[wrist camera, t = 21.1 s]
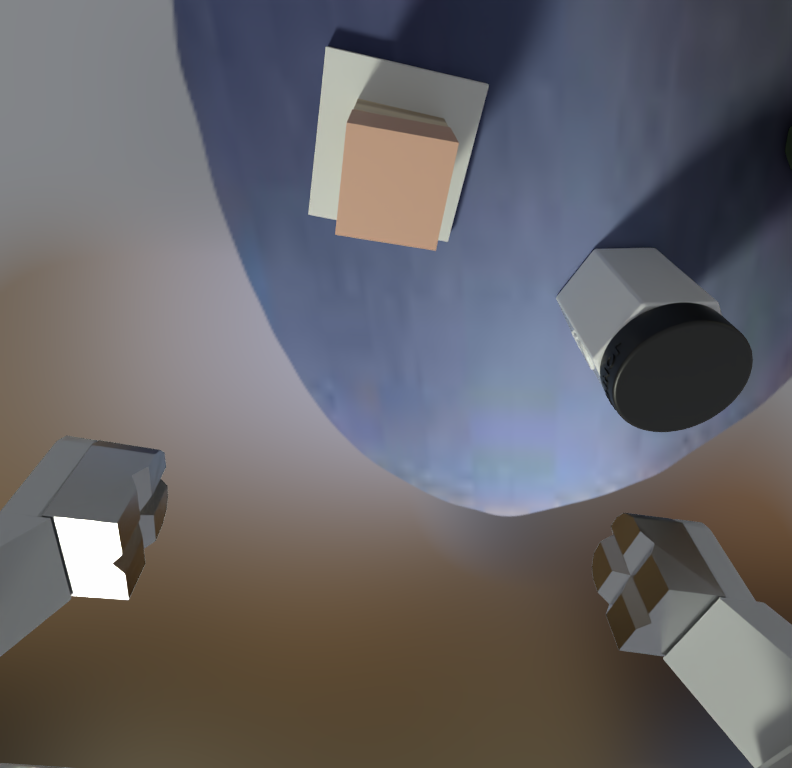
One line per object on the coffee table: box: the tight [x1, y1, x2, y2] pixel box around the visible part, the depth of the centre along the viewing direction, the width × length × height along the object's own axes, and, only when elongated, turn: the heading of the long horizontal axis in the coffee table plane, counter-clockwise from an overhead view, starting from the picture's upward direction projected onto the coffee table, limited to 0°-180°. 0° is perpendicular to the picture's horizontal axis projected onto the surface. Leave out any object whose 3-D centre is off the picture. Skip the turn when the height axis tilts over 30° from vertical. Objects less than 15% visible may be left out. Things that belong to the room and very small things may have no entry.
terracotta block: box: [335, 109, 459, 251], centre depth 29 cm, size 6×6×4 cm
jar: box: [556, 248, 753, 432], centre depth 36 cm, size 9×8×12 cm
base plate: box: [308, 46, 489, 242], centre depth 34 cm, size 10×10×1 cm
